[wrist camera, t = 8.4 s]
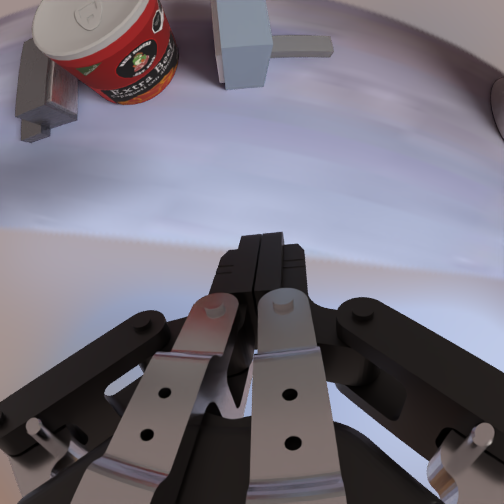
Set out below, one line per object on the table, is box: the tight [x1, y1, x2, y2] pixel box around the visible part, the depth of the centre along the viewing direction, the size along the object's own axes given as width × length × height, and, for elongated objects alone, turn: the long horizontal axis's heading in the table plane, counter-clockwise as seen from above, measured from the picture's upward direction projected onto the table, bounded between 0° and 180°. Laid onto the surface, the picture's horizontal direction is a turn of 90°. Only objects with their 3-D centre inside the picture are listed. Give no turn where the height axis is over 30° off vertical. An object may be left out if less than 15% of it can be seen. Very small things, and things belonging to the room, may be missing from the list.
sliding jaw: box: [211, 0, 334, 90], centre depth 19 cm, size 9×7×8 cm
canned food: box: [32, 0, 179, 105], centre depth 17 cm, size 8×8×11 cm
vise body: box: [15, 38, 78, 143], centre depth 19 cm, size 6×8×6 cm
